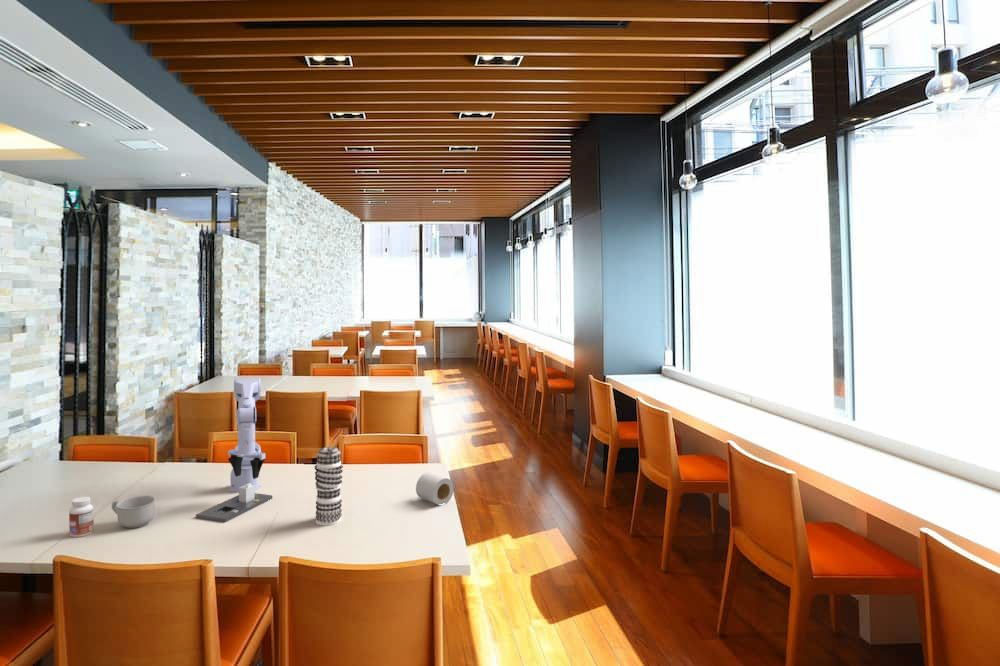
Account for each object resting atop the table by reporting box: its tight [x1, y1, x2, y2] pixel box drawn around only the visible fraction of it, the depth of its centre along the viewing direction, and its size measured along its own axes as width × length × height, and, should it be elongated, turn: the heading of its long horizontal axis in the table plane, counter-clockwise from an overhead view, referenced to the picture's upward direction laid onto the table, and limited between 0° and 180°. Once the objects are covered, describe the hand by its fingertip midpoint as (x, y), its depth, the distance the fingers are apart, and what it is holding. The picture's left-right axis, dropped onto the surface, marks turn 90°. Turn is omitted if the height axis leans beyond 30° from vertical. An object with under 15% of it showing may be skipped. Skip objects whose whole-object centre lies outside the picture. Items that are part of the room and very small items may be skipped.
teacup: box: [111, 494, 156, 529], centre depth 188 cm, size 14×11×8 cm
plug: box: [238, 483, 256, 503], centre depth 209 cm, size 3×4×7 cm
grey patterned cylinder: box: [314, 446, 344, 526], centre depth 194 cm, size 9×9×25 cm
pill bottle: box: [68, 496, 95, 538], centre depth 180 cm, size 6×6×11 cm
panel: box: [195, 492, 273, 523], centre depth 204 cm, size 12×24×2 cm, turn 164°
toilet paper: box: [415, 472, 454, 506], centre depth 215 cm, size 10×10×10 cm
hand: (246, 476), depth 209 cm, fingers open, 7 cm apart
